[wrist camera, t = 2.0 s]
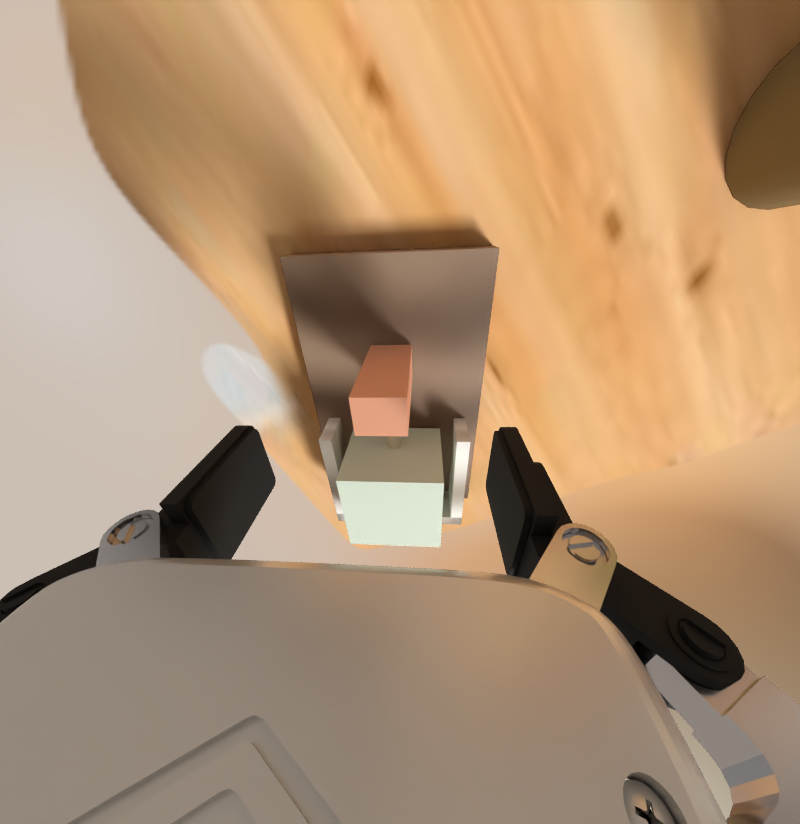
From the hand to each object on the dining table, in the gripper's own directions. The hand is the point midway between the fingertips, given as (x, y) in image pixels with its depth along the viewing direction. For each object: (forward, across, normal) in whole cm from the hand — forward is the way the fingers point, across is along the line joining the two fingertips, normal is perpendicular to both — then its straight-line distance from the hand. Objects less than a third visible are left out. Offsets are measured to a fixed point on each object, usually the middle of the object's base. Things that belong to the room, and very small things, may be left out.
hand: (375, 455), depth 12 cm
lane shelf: (+9, 0, +2) cm, 10 cm away
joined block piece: (+8, 0, +4) cm, 9 cm away
